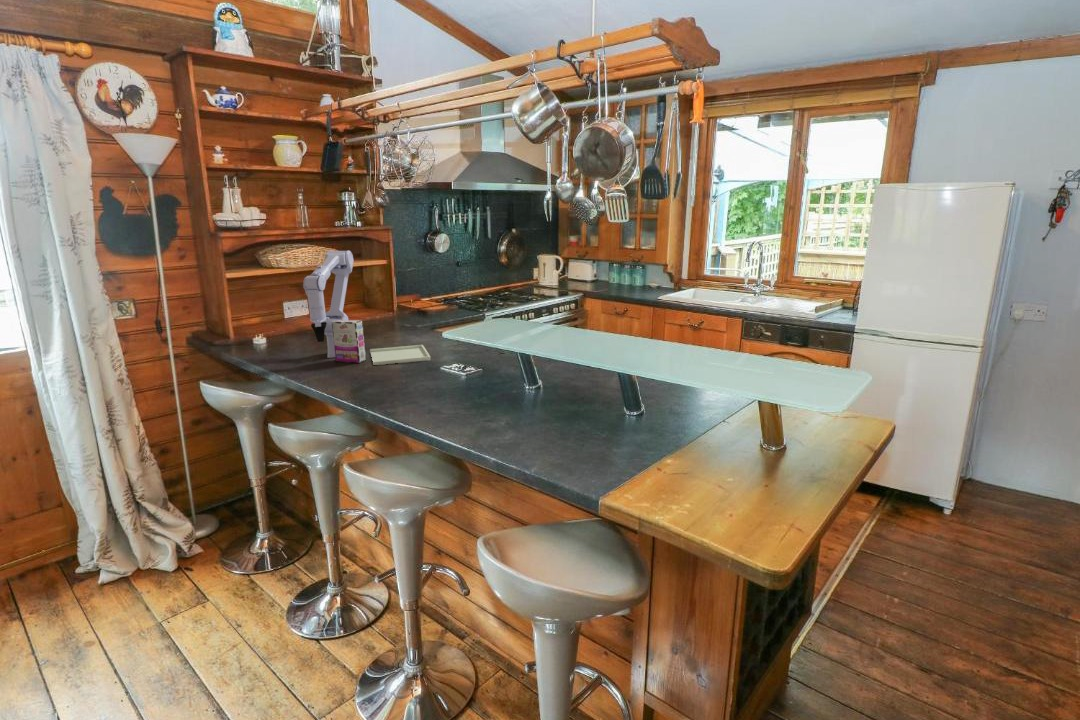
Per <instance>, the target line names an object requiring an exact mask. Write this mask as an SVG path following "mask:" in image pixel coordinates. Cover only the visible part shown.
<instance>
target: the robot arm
mask: <svg viewBox="0 0 1080 720" xmlns="http://www.w3.org/2000/svg"><path fill="white" fill-rule="evenodd" d="M324 255H325V257H324V259H325V260H324V262H323V263H322V264H320V265H319V264H318V265H317V266H316V268H315V270H313V272H312V273H311V274H310V275H307V276H306V277H304V279H303V281H302V282H303V284H302V286H303V289H304V291H305V295H306V296H307V301H308V302H307V303H308V311H309V317H310V318H309V321H310V322H311V324H310V327H311V328H312V330H313V332H314V334H315V337H316V340H317V342H318V343H322V342H325V341H324V339H325V336H326V344H327V357H326V358H327V359H328V358H329V359H331V358H336V357H335V347H334V338H333V329H332V321H336V320H349V316H348V315H347V314H346V313H345V312H344V305H345V300H346V294H347V287H348V281H349V276H350V274H351V273H352V272H353V266H354V261H355V260H354V255H353V253H352V251H351V250H327V251H326V253H325V254H324ZM331 274H334V276H335V278H334V282H333V283H334V284H333V289H332V290H333V291H332V296H331V301H330V302H331V303H330V308H329V310H328V311H326V307H325V306H326V305H325V296H324V290H325V289H326V284H327V281H328V279H329V278H330V276H331Z"/></svg>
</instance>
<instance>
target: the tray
mask: <svg viewBox="0 0 1080 720" xmlns="http://www.w3.org/2000/svg"><path fill="white" fill-rule="evenodd" d="M369 352H370V358H371V357H372V358H371V360H372V361H373V362H372V365H377V366H385V365H386V364H388V365H396V364H395V363H398V364H406V363H417V362H418V363H419V362H425V361H426V362H428V361H431V360H432V359H431V355H430V353H429V352H428V351H427V349H426V347H425V346H424V344H416V345H407V346H406V345H404V346H403V345H402V346H393V347H392V346H391V347H383V348H370V349H369ZM386 366H387V365H386Z"/></svg>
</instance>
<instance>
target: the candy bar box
mask: <svg viewBox="0 0 1080 720" xmlns="http://www.w3.org/2000/svg"><path fill="white" fill-rule="evenodd" d="M332 329H333V338H334V347H335V357H334V358H335V362H336V361H341V362H340V363H350V362H353V364H360V363H361V364H362V363H363V362H365V360H367V355H366V347H365V346H366V345H365V336H364V325H363V320H362V319H361V320H359V319H357V320H356V319H348V320H336V321H332Z"/></svg>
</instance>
